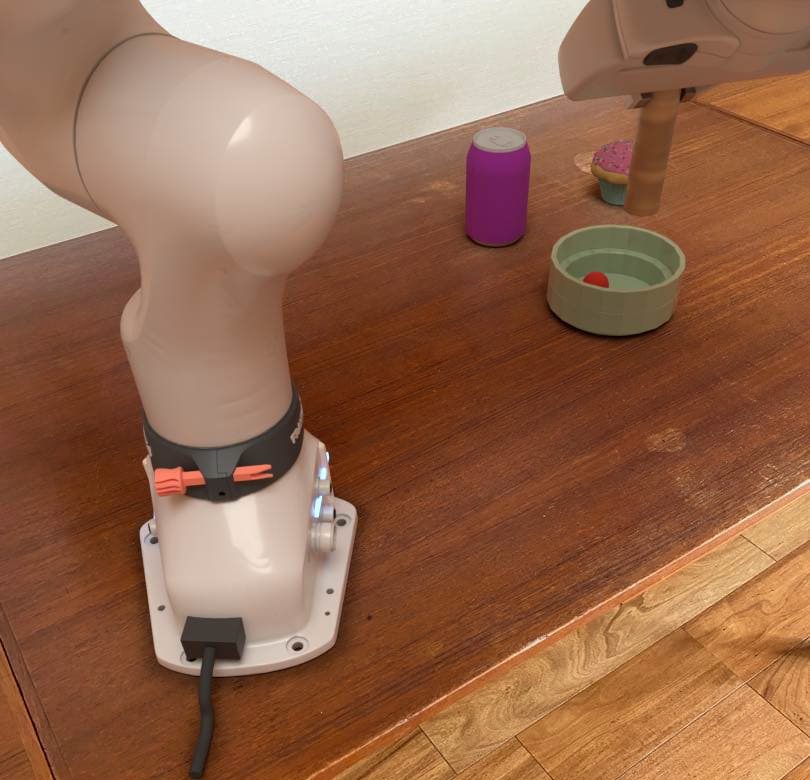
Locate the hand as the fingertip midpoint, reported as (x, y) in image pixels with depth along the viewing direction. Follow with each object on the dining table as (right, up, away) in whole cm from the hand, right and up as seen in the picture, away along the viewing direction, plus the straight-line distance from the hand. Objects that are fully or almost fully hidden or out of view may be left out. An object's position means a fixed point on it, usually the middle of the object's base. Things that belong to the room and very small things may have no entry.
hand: (656, 96), depth 70 cm
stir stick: (0, -7, +6) cm, 9 cm away
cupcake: (+8, +10, +46) cm, 48 cm away
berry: (+1, -7, +27) cm, 28 cm away
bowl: (+3, -9, +28) cm, 30 cm away
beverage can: (-9, +3, +40) cm, 41 cm away
